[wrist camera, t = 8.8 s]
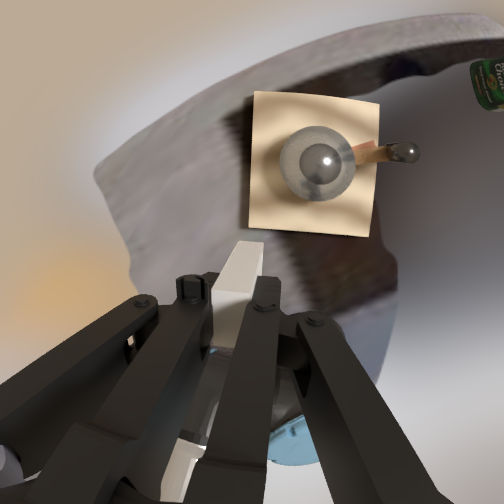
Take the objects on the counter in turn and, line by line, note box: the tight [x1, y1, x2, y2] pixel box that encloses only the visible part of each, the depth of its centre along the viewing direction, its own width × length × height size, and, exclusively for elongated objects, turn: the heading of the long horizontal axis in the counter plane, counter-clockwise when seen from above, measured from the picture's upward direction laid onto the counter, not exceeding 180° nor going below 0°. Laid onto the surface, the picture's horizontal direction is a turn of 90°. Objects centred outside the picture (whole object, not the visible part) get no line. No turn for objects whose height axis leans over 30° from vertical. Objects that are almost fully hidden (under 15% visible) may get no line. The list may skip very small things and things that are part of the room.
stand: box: [249, 91, 379, 237], centre depth 38 cm, size 20×18×2 cm
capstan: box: [279, 126, 420, 202], centre depth 33 cm, size 18×10×8 cm, turn 103°
